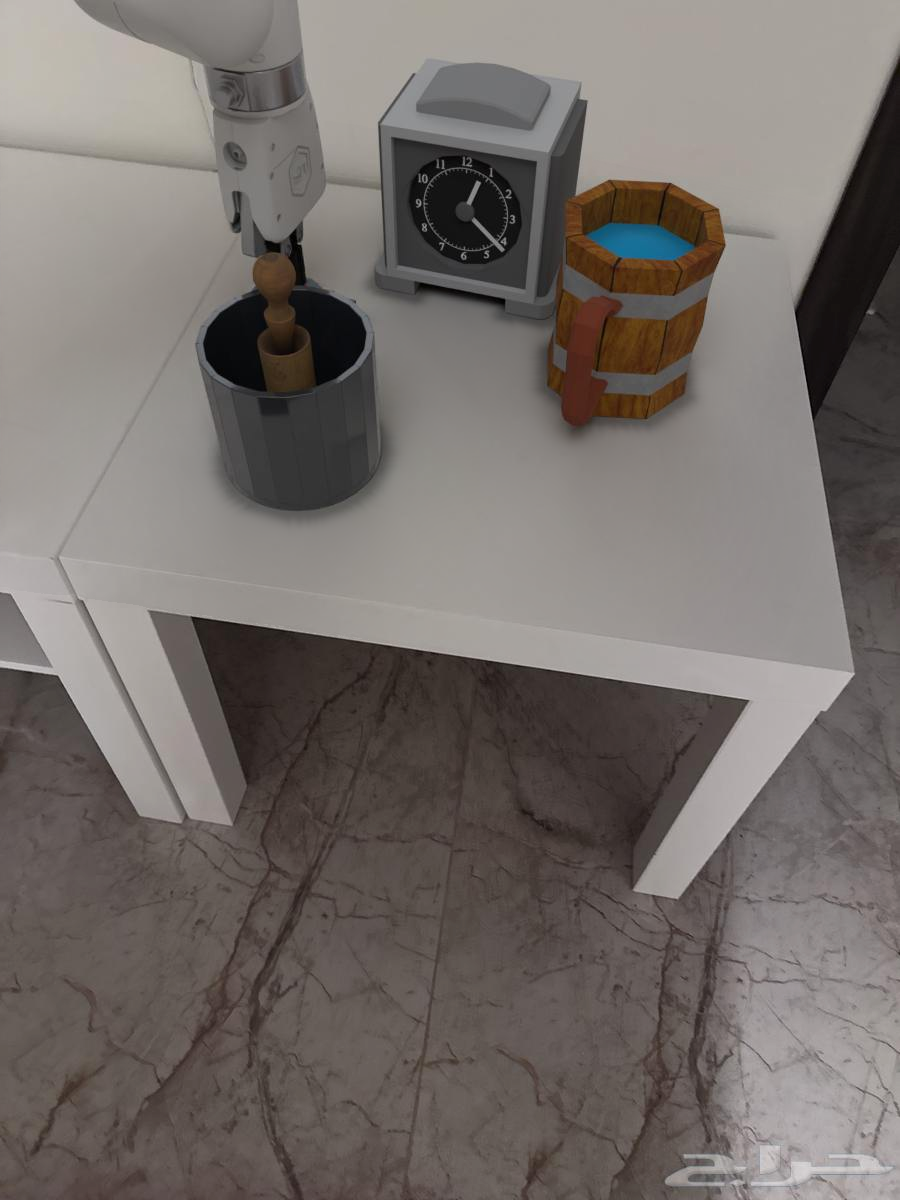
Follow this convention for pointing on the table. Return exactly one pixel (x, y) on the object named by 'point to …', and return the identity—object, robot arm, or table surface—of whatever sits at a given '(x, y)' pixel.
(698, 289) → the mug
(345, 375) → the grey open cylinder
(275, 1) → the robot arm
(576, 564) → the table surface
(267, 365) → the mortar and pestle
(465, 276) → the alarm clock
